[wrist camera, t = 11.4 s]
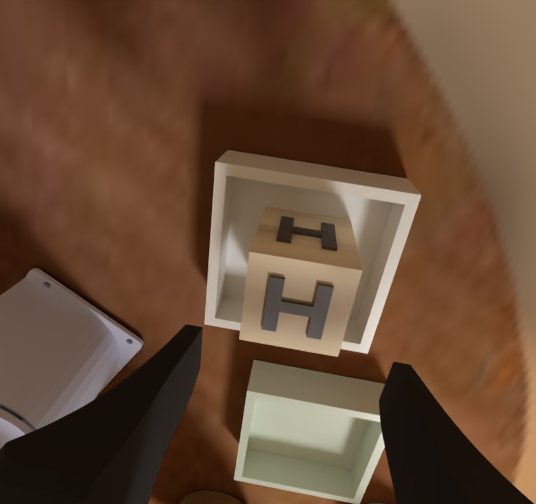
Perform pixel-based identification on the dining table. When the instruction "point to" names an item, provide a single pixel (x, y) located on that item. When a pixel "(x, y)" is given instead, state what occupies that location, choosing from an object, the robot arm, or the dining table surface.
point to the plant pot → (209, 498)
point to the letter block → (300, 281)
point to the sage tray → (310, 432)
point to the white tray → (315, 202)
